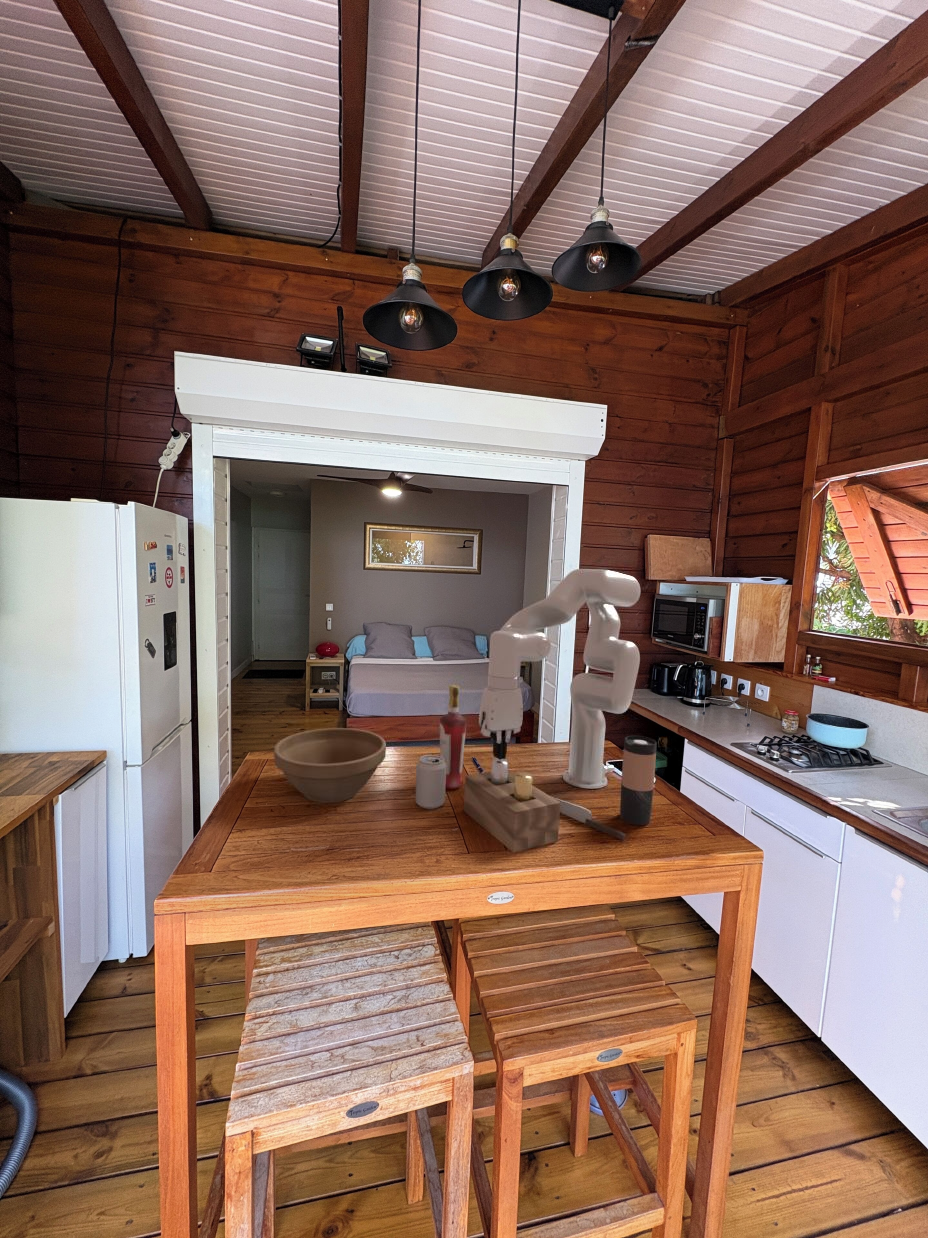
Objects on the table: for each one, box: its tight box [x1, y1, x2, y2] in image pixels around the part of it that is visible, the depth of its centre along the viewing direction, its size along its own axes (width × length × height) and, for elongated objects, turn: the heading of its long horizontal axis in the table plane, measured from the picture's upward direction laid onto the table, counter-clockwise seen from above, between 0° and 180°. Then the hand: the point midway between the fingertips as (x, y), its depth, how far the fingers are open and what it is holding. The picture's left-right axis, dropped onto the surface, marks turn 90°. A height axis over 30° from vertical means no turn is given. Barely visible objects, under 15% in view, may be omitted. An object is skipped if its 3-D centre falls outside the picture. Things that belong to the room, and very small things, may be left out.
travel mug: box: [619, 735, 657, 826], centre depth 133 cm, size 8×8×20 cm
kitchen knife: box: [549, 795, 627, 841], centre depth 134 cm, size 4×1×30 cm
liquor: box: [439, 685, 467, 790], centre depth 148 cm, size 7×7×28 cm
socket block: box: [463, 769, 561, 854], centre depth 127 cm, size 12×22×9 cm, turn 29°
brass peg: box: [514, 771, 534, 802], centre depth 122 cm, size 4×4×8 cm
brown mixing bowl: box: [273, 727, 387, 804], centre depth 141 cm, size 28×28×13 cm
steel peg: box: [490, 757, 509, 786], centre depth 131 cm, size 4×4×8 cm
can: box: [414, 754, 446, 810], centre depth 137 cm, size 8×8×12 cm
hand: (499, 757), depth 130 cm, fingers closed
